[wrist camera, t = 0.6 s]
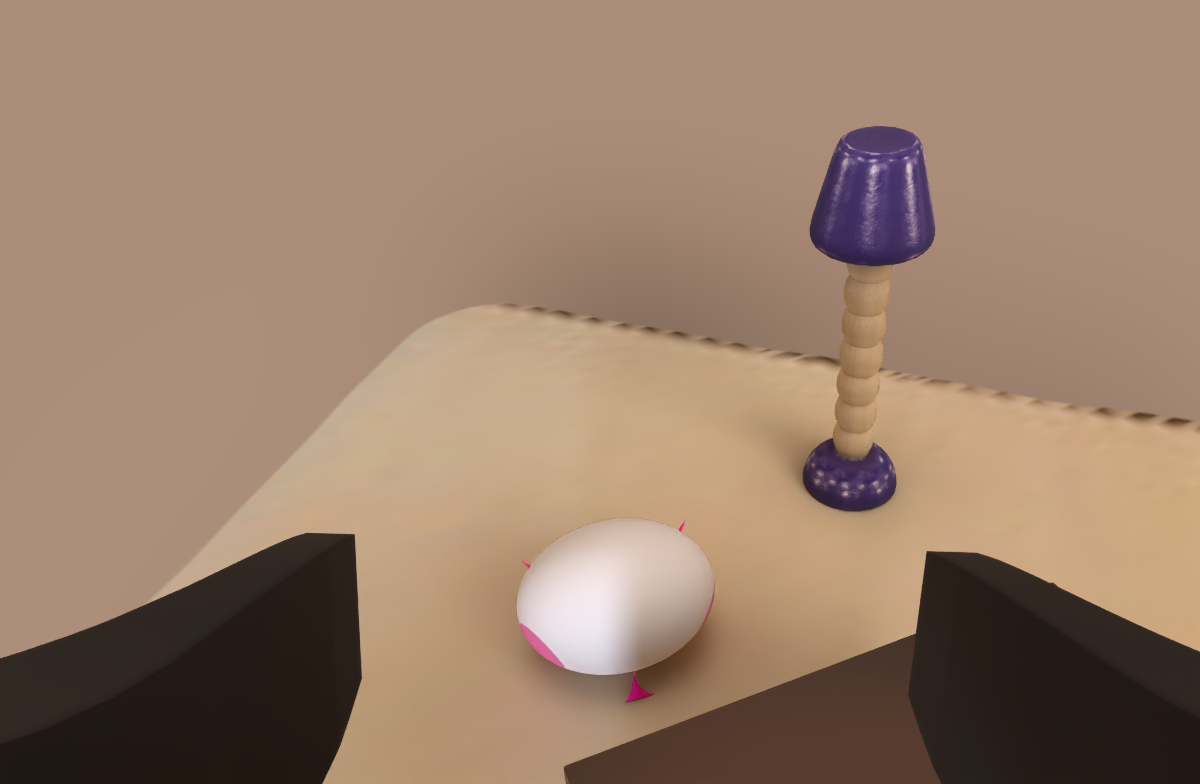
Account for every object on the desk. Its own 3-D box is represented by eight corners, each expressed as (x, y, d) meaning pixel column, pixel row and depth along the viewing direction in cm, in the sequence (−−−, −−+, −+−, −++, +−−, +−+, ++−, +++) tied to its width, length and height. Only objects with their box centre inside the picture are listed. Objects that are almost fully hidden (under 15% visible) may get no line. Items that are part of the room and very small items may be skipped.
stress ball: (686, 635, 40) (659, 488, 39) (758, 693, 32) (725, 509, 32) (519, 680, 38) (489, 526, 38) (551, 752, 30) (514, 558, 30)
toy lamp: (845, 531, 40) (894, 173, 30) (769, 478, 43) (790, 138, 33) (914, 483, 42) (981, 135, 32) (837, 435, 45) (876, 105, 35)
